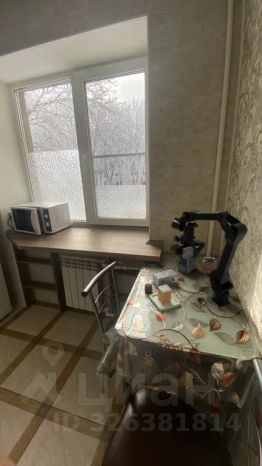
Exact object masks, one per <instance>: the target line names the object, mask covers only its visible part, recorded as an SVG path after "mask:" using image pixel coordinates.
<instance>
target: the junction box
mask: <svg viewBox="0 0 262 466" xmlns="http://www.w3.org/2000/svg"><path fill="white" fill-rule="evenodd" d="M178 275H179V274H178V273H177V272H176V271H174V269H172V268H171V269H167V270H163V271H159V272H154V273H152V281H151V282H150V284H152V286H154V288H156V290H158V287H159V286H162V285H167V286H169V287H173V286H176V284H177V285H179V283H180V282H179V281H178ZM172 285H173V286H172Z"/></svg>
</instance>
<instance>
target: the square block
mask: <svg viewBox="0 0 262 466" xmlns="http://www.w3.org/2000/svg"><path fill="white" fill-rule="evenodd" d="M157 293H158V300H159V301H160V302H161V303H162V304H166V303H169V302H171V294H172V288H171V286H167V285H162V286H159V287H158V289H157Z"/></svg>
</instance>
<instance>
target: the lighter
mask: <svg viewBox="0 0 262 466" xmlns="http://www.w3.org/2000/svg"><path fill="white" fill-rule="evenodd" d="M214 269H217V260H216V258H215V257H211V256H209V257H207V256H204V257H203V259H202V263H201V273H202V274H207V273H208V274H209V275H211V271H212V270H214Z"/></svg>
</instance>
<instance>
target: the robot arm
mask: <svg viewBox="0 0 262 466" xmlns="http://www.w3.org/2000/svg"><path fill="white" fill-rule="evenodd" d="M196 221H212V222H213V221H216V222H218V223H219V225H220V228H221V230H222V231H223V232H224V239H225V244H224V248H223V250H222V253H221V256H220V259H219V263H218V266H217V267H216V269H214V270H212V271H211V274H209V275H210V276H209V277H208V278H209V283H210V286H211V291H212V292H213V293H212V294H213V295H212V296H213V297H211V298H210V300H211V301H212V302H214V303H215V304H216V305H218V307H224V306H226V305H229V304H231V301H230V295H231V294H230V293H231V292H230V291H231V290H233V288H234V285H233V283H232V282H231V280H230V277H231V276H230V275H231V274H230V272H229V271H230V268H231V265H232V262H233V259H234V257H235V255H236V251H237V248H238V246H239V244H240V243H241V242H242V241H243V239H244V238H245V236H246V235H247V233H248V232H249V231H248V230H249V229H248V226H247V225H246V224H245V223H243V222H242V221H241V220H240V219H238V218H237V217H235V216H233V215H231V213H230V212H228V211H227V210H222V211H201V210H199V209H188V210H184V211H182V214H181V216H180V217H174V219H173V220H172V222H171V224H170V225H171V229H172V230H175V231H178V232H183V233H182V234H181V235H180V236H178V235H174V236H173V242H174V243H175V242H176V244H171V245H170V246H169V247H170V248H169V249H170V251H172V253H175V255H176V257H177V258H178V259H177V258H176V259H177V261H178V260H179V262H180V263H181V260H182V255H183V253H182V251H183V249H184V250H186V249H190V248H192V249H193V250H192V253H193V259H195V258H196V259H197V257H198V255H199V254H200V253H201V252H202V250H204V249H205V248H206V243H205V242H204V241H203V240H200V239H197V236H195V231H196V230H195V229H196V228H199V226H200V225H199V224H198V223H197V222H196ZM178 243H179V244H178ZM181 245H182V246H181Z"/></svg>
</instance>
